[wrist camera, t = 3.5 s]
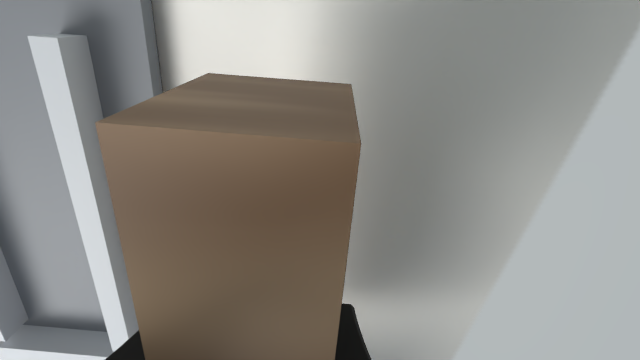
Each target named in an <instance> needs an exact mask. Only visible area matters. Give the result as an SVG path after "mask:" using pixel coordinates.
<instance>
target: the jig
mask: <svg viewBox="0 0 640 360" xmlns="http://www.w3.org/2000/svg"><path fill="white" fill-rule="evenodd" d="M161 93H163V91H162V83H161V75H160V67H159V59H158V51H157V43H156V35H155V27H154V19H153V11H152V3H151V0H0V360H105V359H106V358H107V357H108V356H110V355H111V354H112V353H113V352H114V351H116V350H117V349H118V348H119V347H120V346H121V345H123V344H124V343H125V342H126V341H127V340H128V339H129V338H130V337H132V336H133V335H134V334H135V333H136V332H137V331H138V330H139V327H138V323H137V318H136V313H135V309H134V304H133V299H132V295H131V290H130V285H129V280H128V276H127V271H126V266H125V262H124V257H123V252H122V247H121V243H120V238H119V233H118V229H117V224H116V219H115V215H114V210H113V205H112V200H111V196H110V191H109V186H108V182H107V177H106V172H105V168H104V163H103V158H102V153H101V149H100V144H99V139H98V135H97V130H96V125H95V122H97V121H99V120H102V119H104V118H106V117H109V116H111V115H113V114H115V113H118V112H120V111H122V110H125V109H127V108H129V107H132V106H134V105H136V104H138V103H141V102H143V101H145V100H148V99H150V98H152V97H155V96H157V95H159V94H161Z"/></svg>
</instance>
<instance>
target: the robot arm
mask: <svg viewBox="0 0 640 360" xmlns="http://www.w3.org/2000/svg"><path fill="white" fill-rule="evenodd" d="M105 360H145V356H144V351H143V346H142V342H141V337H140V332H139V330H138V331H137V332H136V333H135V334H134V335H133V336H132V337H130V338H129V339H128V340H127V341H126V342H125V343H124V344H123V345H121V346H120V347H119V348H118V349H117V350H116V351H114V352H113V353H112V354H111V355H110V356H108V357H107V358H106V359H105ZM335 360H371V358H370V355H369V353H368V350H367V348H366V345H365V343H364V340H363V337H362V334H361V331H360V328H359V325H358V322H357V318H356V314H355V310H354V307H353V306H352V305H351V304H341V313H340V321H339V329H338V337H337V345H336V354H335Z"/></svg>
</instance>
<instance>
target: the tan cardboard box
mask: <svg viewBox="0 0 640 360" xmlns="http://www.w3.org/2000/svg"><path fill="white" fill-rule="evenodd" d="M95 125H96V130H97V135H98V139H99V144H100V149H101V153H102V158H103V163H104V168H105V172H106V177H107V182H108V186H109V191H110V196H111V200H112V205H113V210H114V215H115V219H116V224H117V229H118V233H119V238H120V243H121V247H122V252H123V257H124V262H125V266H126V271H127V276H128V280H129V285H130V290H131V295H132V299H133V304H134V309H135V313H136V318H137V323H138V327H139V332H140V337H141V342H142V346H143V351H144V356H145V360H335V354H336V345H337V337H338V329H339V321H340V313H341V304H342V296H343V288H344V280H345V272H346V263H347V255H348V247H349V239H350V230H351V222H352V214H353V206H354V198H355V189H356V181H357V173H358V165H359V157H360V148H361V140H360V134H359V128H358V122H357V116H356V110H355V104H354V98H353V92H352V86H351V84H342V83H329V82H316V81H303V80H290V79H277V78H264V77H251V76H237V75H224V74H211V73H208V74H205V75H203V76H201V77H198V78H196V79H194V80H191V81H189V82H187V83H184V84H182V85H180V86H178V87H175V88H173V89H171V90H168V91H166V92H164V93H161V94H159V95H157V96H155V97H152V98H150V99H148V100H145V101H143V102H141V103H138V104H136V105H134V106H132V107H129V108H127V109H125V110H122V111H120V112H118V113H115V114H113V115H111V116H109V117H106V118H104V119H102V120H99V121H97V122H95Z"/></svg>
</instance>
